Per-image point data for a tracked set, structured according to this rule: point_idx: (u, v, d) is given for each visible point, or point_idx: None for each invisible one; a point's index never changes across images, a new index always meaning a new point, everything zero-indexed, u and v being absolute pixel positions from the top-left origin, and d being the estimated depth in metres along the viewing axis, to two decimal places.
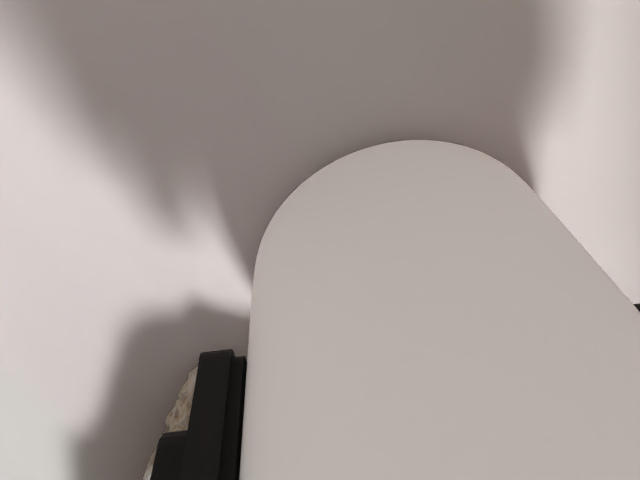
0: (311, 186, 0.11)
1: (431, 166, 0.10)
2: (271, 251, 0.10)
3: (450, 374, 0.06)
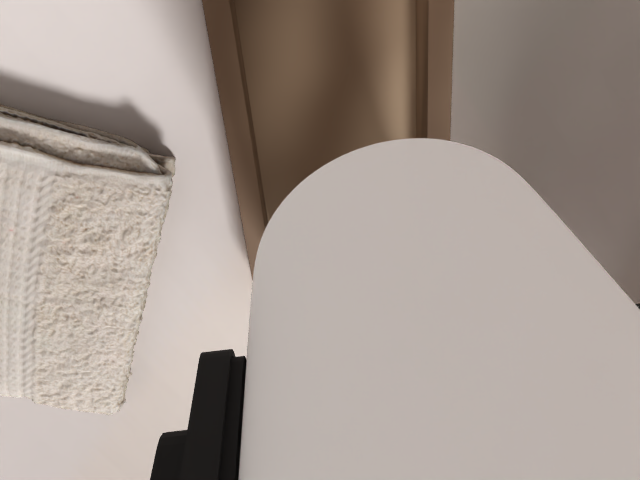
0: (311, 185, 0.11)
1: (431, 164, 0.10)
2: (270, 250, 0.10)
3: (449, 372, 0.06)
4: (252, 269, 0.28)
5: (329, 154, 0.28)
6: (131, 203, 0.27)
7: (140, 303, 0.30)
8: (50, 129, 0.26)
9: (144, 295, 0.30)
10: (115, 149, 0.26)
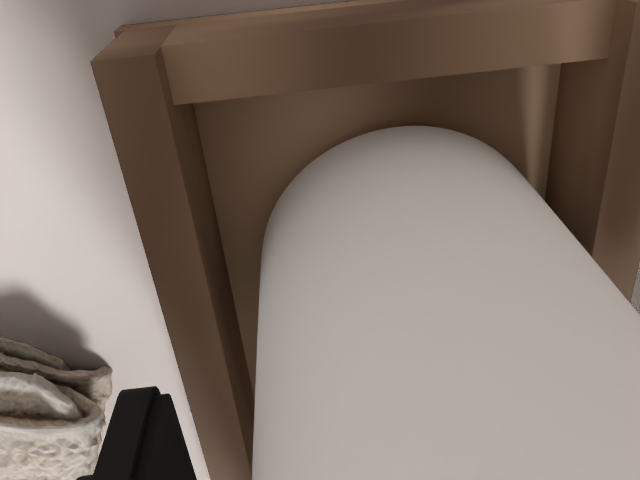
0: (315, 169, 0.12)
1: (425, 149, 0.11)
2: (279, 228, 0.11)
3: (438, 326, 0.07)
4: None
5: None
6: (25, 469, 0.15)
7: None
8: None
9: None
10: None
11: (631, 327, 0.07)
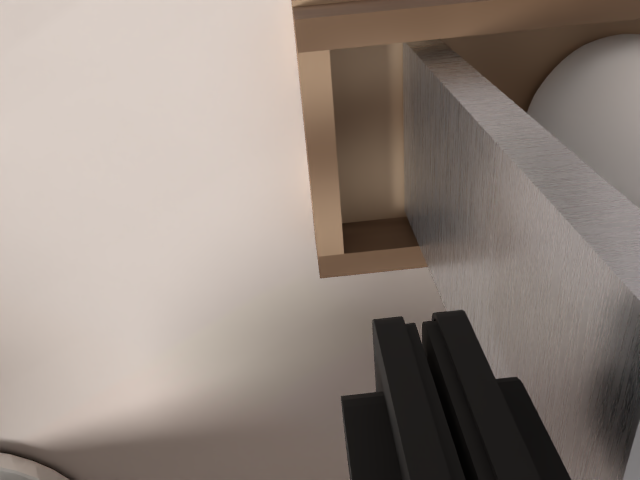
0: None
1: None
2: None
3: None
4: (400, 12, 0.18)
5: None
6: None
7: None
8: None
9: None
10: None
11: None
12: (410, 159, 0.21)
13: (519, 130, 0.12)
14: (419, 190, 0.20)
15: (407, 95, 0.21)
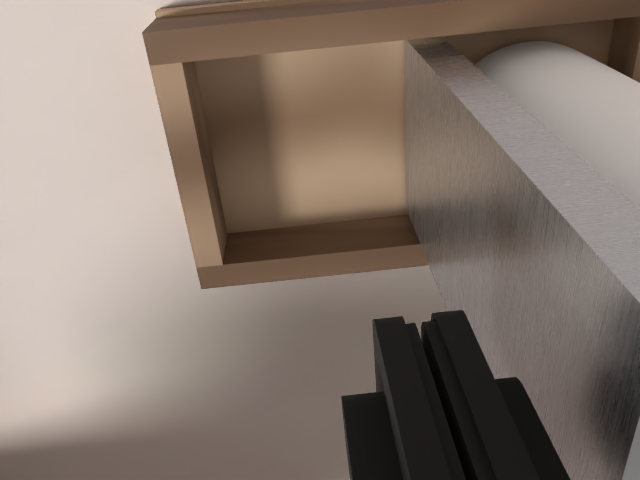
0: None
1: None
2: None
3: None
4: (249, 25, 0.18)
5: (387, 119, 0.22)
6: None
7: None
8: None
9: None
10: None
11: None
12: (411, 157, 0.21)
13: (519, 128, 0.12)
14: (420, 188, 0.20)
15: (408, 93, 0.21)
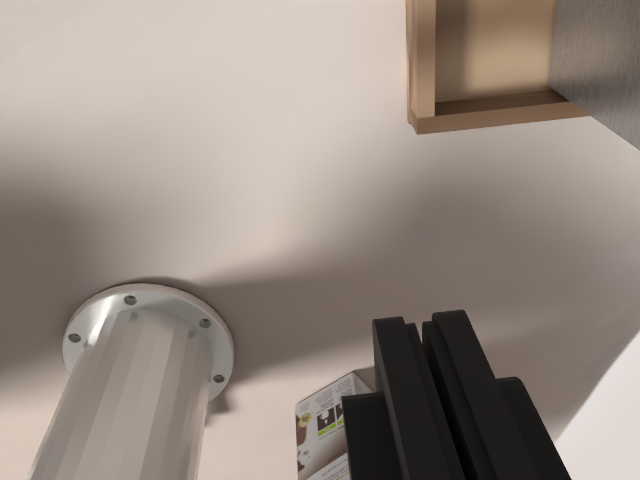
0: None
1: None
2: None
3: None
4: None
5: (542, 19, 0.34)
6: None
7: None
8: None
9: None
10: None
11: None
12: (561, 42, 0.33)
13: None
14: (572, 58, 0.32)
15: None
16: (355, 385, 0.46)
